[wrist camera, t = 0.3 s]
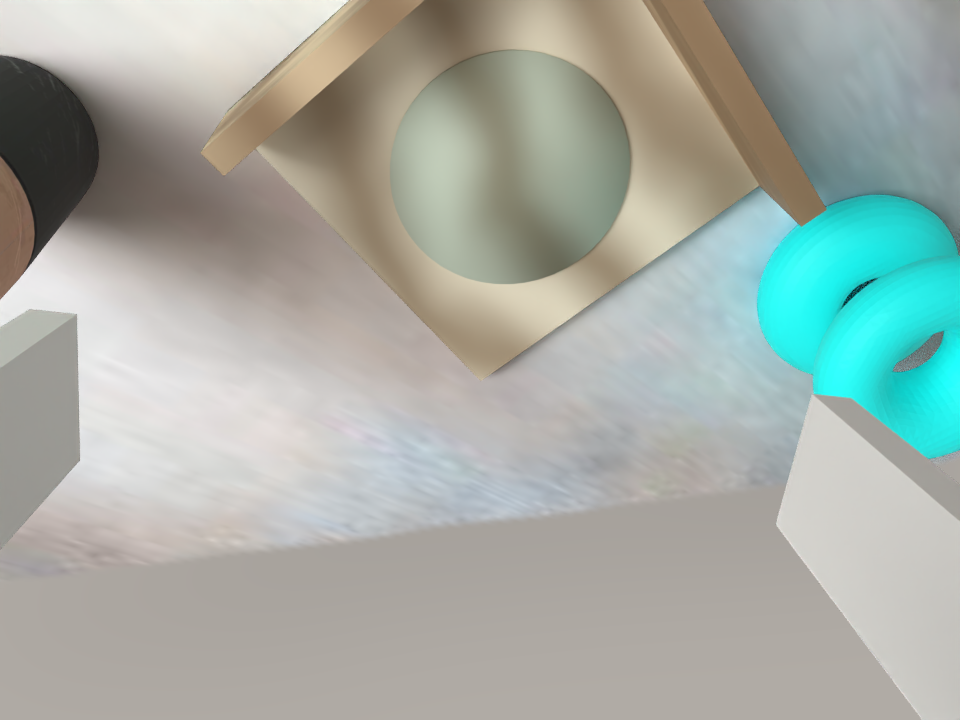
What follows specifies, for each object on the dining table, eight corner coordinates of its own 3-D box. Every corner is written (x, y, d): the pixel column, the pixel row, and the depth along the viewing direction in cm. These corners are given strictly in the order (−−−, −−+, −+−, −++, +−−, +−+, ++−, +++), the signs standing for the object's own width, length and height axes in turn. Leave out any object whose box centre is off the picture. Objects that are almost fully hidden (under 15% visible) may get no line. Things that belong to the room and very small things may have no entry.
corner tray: (558, -190, 32) (586, -195, 27) (773, 163, 41) (826, 209, 35) (228, 110, 37) (200, 153, 32) (479, 371, 45) (488, 438, 40)
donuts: (864, 506, 39) (800, 347, 34) (782, 387, 48) (722, 247, 43) (1083, 412, 37) (1048, 230, 32) (957, 306, 46) (914, 149, 41)
